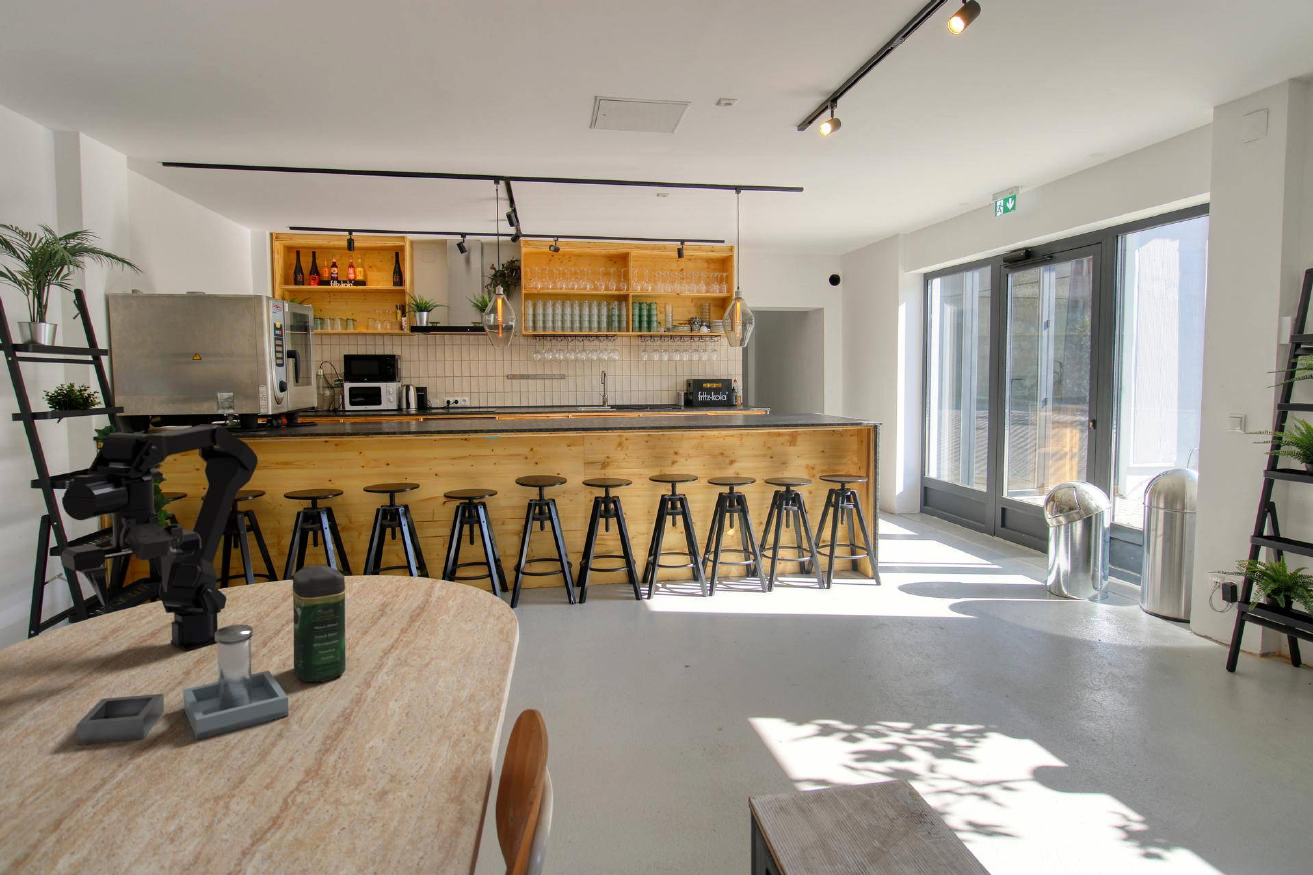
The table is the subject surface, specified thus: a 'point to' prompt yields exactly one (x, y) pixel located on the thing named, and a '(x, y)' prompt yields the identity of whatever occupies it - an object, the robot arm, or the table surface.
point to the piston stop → (234, 666)
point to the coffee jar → (319, 623)
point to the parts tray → (212, 721)
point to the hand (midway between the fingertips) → (136, 598)
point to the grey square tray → (120, 719)
